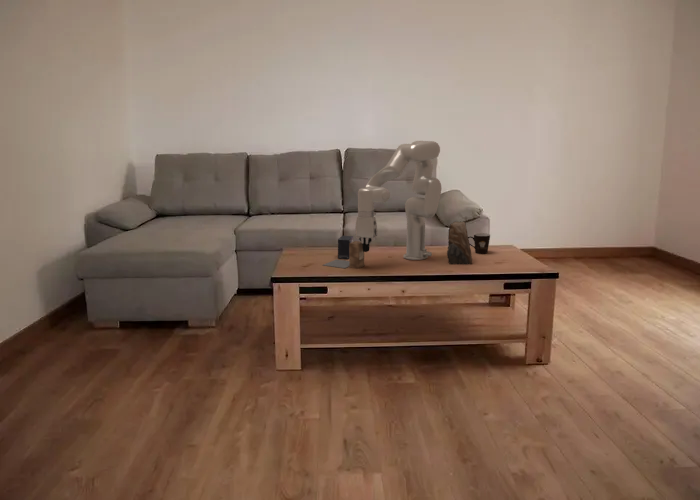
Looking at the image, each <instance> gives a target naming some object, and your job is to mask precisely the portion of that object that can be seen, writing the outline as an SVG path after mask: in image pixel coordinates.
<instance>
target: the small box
mask: <svg viewBox="0 0 700 500" xmlns="http://www.w3.org/2000/svg"><path fill="white" fill-rule="evenodd" d="M352 242H354V236H352V235H341V236H339V237H338V238H337V260H349V243H352Z"/></svg>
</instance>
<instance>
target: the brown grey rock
mask: <svg viewBox="0 0 700 500" xmlns="http://www.w3.org/2000/svg"><path fill="white" fill-rule="evenodd" d="M468 235H469V233H468V229H467V225H466V222H465V221H453V222H452V223H450V226H449V229H448V235H447V236H448V239H447V240H448V242H447V243H448V246H447V251H446V256H447V260H448V261H447V262H448V264H449V265H473V258H472V257H473V256H472V249H471V245H470V244H471V243H470V241H469V239H470V238H468V237H469V236H468Z"/></svg>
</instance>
